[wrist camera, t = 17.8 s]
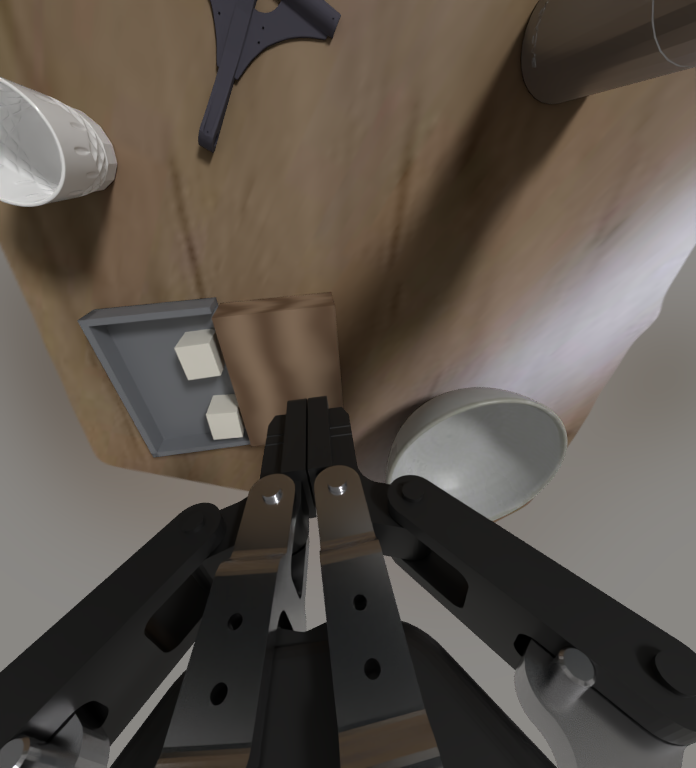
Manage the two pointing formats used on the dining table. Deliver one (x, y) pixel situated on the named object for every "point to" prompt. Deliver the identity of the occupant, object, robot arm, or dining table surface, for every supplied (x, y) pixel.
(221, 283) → the dining table surface
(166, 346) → the tray
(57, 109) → the white cup
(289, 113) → the dining table surface
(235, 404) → the off-white cube
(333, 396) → the walnut board
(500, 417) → the decorative bowl
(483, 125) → the dining table surface
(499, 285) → the dining table surface
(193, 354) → the cream cube
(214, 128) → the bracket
